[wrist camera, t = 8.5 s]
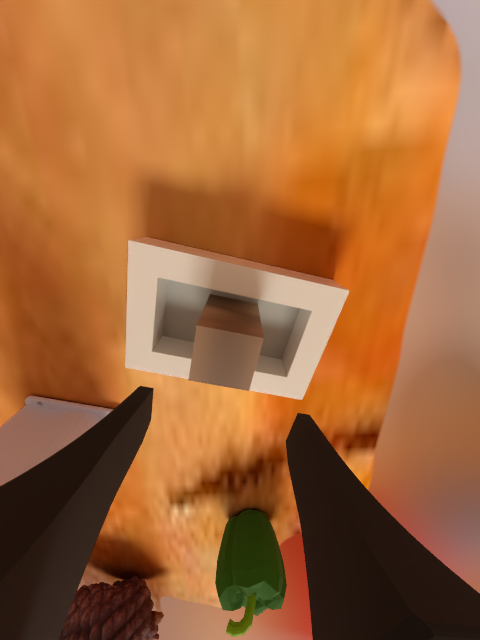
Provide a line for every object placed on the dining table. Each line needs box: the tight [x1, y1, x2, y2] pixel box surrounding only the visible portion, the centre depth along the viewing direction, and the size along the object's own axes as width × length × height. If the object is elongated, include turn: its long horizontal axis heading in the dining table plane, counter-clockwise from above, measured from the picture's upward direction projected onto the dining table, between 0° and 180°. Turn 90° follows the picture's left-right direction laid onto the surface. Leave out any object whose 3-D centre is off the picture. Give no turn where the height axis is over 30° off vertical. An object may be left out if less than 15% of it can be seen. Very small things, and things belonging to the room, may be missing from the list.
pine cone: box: [58, 575, 164, 640], centre depth 35 cm, size 18×10×10 cm, turn 60°
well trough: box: [125, 237, 349, 400], centre depth 18 cm, size 15×10×3 cm, turn 77°
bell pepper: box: [215, 509, 286, 637], centre depth 28 cm, size 8×8×10 cm
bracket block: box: [189, 294, 264, 391], centre depth 17 cm, size 4×4×6 cm
